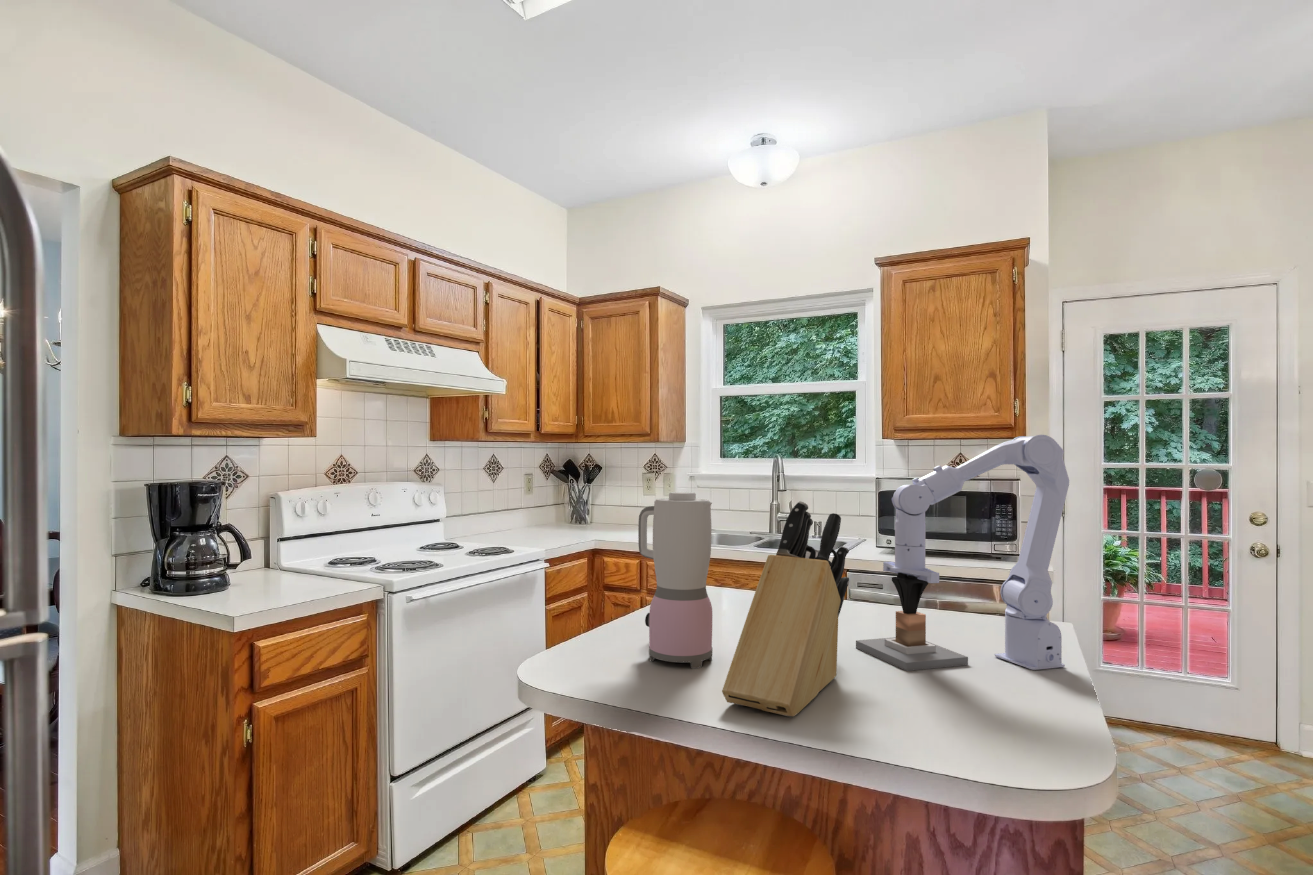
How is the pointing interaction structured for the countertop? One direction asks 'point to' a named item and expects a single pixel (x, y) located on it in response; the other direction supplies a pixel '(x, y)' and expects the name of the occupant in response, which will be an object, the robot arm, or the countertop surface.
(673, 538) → the blender
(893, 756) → the countertop surface
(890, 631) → the countertop surface
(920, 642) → the copper rectangular block
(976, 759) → the countertop surface
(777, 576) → the knife block
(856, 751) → the countertop surface
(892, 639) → the collar board
